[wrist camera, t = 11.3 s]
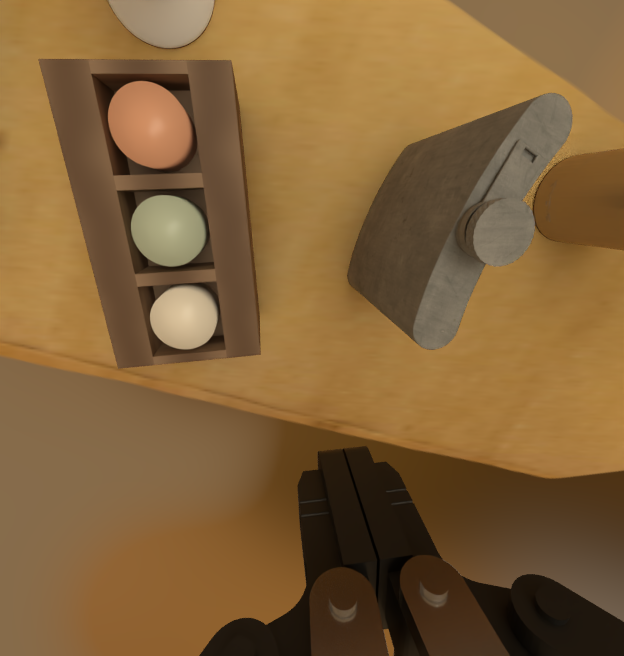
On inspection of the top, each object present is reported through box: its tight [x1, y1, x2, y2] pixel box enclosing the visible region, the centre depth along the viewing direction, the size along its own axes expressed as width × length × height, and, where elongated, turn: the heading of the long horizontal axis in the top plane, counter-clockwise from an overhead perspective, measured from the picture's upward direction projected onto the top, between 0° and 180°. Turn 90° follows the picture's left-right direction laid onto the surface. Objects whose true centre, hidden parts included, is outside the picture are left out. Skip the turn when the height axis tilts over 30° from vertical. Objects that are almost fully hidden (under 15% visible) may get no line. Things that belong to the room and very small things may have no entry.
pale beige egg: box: [150, 282, 220, 349], centre depth 28 cm, size 5×5×4 cm
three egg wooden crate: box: [38, 59, 261, 369], centre depth 30 cm, size 11×20×11 cm, turn 2°
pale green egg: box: [131, 195, 210, 266], centre depth 26 cm, size 5×5×4 cm
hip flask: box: [347, 93, 572, 350], centre depth 28 cm, size 16×4×20 cm, turn 156°
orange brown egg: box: [108, 81, 197, 172], centre depth 24 cm, size 5×5×4 cm
